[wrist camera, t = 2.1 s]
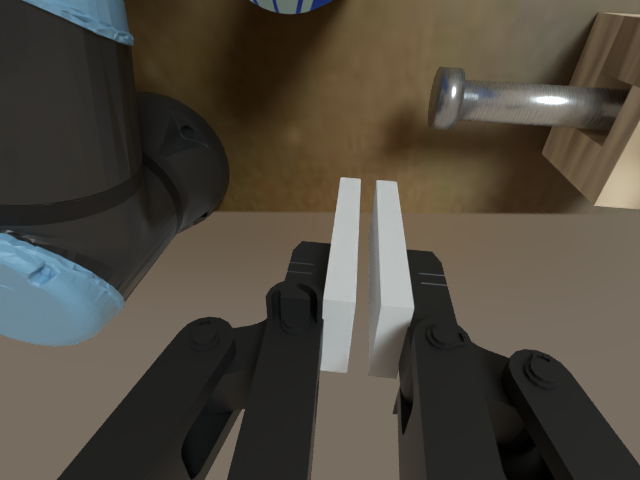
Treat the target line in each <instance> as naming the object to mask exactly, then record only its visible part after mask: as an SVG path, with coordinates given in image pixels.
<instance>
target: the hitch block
mask: <svg viewBox="0 0 640 480" xmlns="http://www.w3.org/2000/svg"><path fill="white" fill-rule="evenodd" d="M569 86H582V87H600V88H617V89H631V90H630V92H629V94H628V96H627V98H626V100H625V102H624V104H623V106H622V108H621V110H620V112H619V114H618V116H617V118H616V120H615V122H614V124H613V126H612V128H611V130H598V129H583V128H567V127H552V128H551V131H550V133H549V136H548V138H547V141H546V143H545V146H544V148H543V151H542V153H541V154H542V155H543V156H544V157H545V158H546V159H547V160H548V161H549V162H550V163H551V164H552V165H553V166H554V167H555V168H556V169H557V170H558V171H559V172H560V173H562V174H563V175H564V176H565V177H566V178H567V179H568V180H569V181H570V182H571V183H572V184H573V185H574V186H575V187H576V188H577V189H578V190H579V191H580V192H581V193H582V194H583V195H584V196H585V197H586V198H587V199H588V200H589V201H590V202H591V203H592V204H593V205H594V206H605V207H618V208H631V209H640V14H625V13H601V12H598V14H597V16H596V19H595V21H594V24H593V26H592V29H591V31H590V34H589V36H588V39H587V41H586V44H585V46H584V49H583V51H582V54H581V56H580V59H579V61H578V64H577V66H576V69H575V71H574V74H573V76H572V79H571V81H570V83H569Z"/></svg>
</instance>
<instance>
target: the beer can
mask: <svg viewBox="0 0 640 480" xmlns="http://www.w3.org/2000/svg"><path fill="white" fill-rule="evenodd" d="M250 1H251V2H253V3H254V4H256V5H258V6H260V7H262V8H264V9H267V10H269V11H273V12H277V13H282V14H299V13H304V12H308V11H311V10H314V9H316V8H318V7H320V6H323V5H325V4H327V3H329V2H331V1H333V0H250Z"/></svg>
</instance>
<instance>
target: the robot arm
mask: <svg viewBox="0 0 640 480" xmlns="http://www.w3.org/2000/svg"><path fill="white" fill-rule="evenodd" d="M131 45H133V36H132V35H131V34H130V33H129V28H128V22H127V16H126V10H125V4H124V0H0V335H3V336H6V337H9V338H12V339H16V340H20V341H24V342H27V343H32V344H38V345H46V346H68V345H74V344H77V343H80V342H82V341H84V340H87V339H90V338H92V337H93V336H95V335H96V334H97V333H99V332H100V331H101V329H103V327H104V326H105V325H106V324H107V323H108V322H109V321H110V320H111V319H112V318H113V317H114V316H115V315H116V314H117V313H118V312H120V311H121V310H122V308H123V307H124V304H125V301H126V300H127V298H128V297H129V296H130V294H131V293H132V292H133V291H134V289H135V288H136V287H137V285H138V284H139V283H140V281H141V280H142V279H143V277H144V276H145V275H146V274H147V272H148V271H149V270H150V268H151V267H152V266H153V264H154V263H155V262H156V260H157V259H158V258H159V256H160V255H161V254H162V252H163V251H164V250H165V248H166V247H167V246H168V244H169V243H170V242H171V240H172V239H173V238H174V236H175V235H176V234H178V233H180V232H182V231H184V230H186V229H188V228H190V227H192V226H193V225H196V224H198V223H199V222H201V221H203V220H205V219H206V218H207V217H208V216H210V215H211V214H212V213H213V212H214V210H215V209H216V208H217V206H218V205H219V203H220V202H221V200H222V199H223V197H224V195H225V193H226V190H227V187H228V182H229V166H228V161H227V157H226V154H225V151H224V148H223V146H222V144H221V142H220V140H219V139H218V137H217V135H216V134H215V132H214V131H213V130H212V128H211V127H210V126H209V125H208V124H207V123H206V121H205V120H204V119H203V118H201V117H200V116H199V115H198V114H197V113H196V112H194V111H193V110H192V109H190V108H189V107H187V106H186V105H184V104H182V103H181V102H179V101H177V100H174V99H172V98H170V97H167V96H163V95H159V94H154V93H135V86H134V74H133V63H132V52H131ZM360 186H361V179H355V178H342V177H341V180H340V187H339V194H338V200H337V207H336V215H335V221H334V228H333V235H332V242H331V244H328V243H327V244H326V243H317V242H306V241H302V242H301V243H300V244H299V245H298V246H297V247H296V248H295V249H294V250H293V253H292V257H291V260H290V264H289V267H288V272H287V274H286V278H285V281H283V282H280V283H278V284H276V285H275V286H274V287H272V288H271V289H270V290H269V292H268V293H267V295H266V306H267V319H266V320H264V321H262V322H260V323H258V324H254V325H250V326H245V327H239V328H232V327H231V325H230V324H229V323H228V322H227V321H225V320H223V319H221V318H216V317H206V318H200V319H197V320H195V321H193V322H191V323H189V324H187V325H186V326H185V327H184V328H183V329H182V330H181V331H180V332H179V333H178V334H177V335H176V337H175V338H174V339H173V340H172V341H171V343H170V344H169V345H168V346H167V347H166V349H165V350H164V351H163V352H162V353H161V355H160V356H159V357H158V358H157V360H156V361H155V362H154V363H153V364H152V365H151V367H150V368H149V369H148V370H147V372H146V373H145V374H144V375H143V376H142V378H141V379H140V380H139V381H138V382H137V384H136V385H135V386H134V387H133V388H132V390H131V391H130V392H129V393H128V395H127V396H126V397H125V398H124V399H123V400H122V402H121V403H120V404H119V405H118V407H117V408H116V409H115V410H114V411H113V413H112V414H111V415H110V416H109V418H108V419H107V420H106V421H105V422H104V423H103V425H102V426H101V427H100V428H99V429H98V431H97V432H96V433H95V434H94V436H93V437H92V438H91V439H90V440H89V442H88V443H87V444H86V445H85V446H84V448H83V449H82V450H81V451H80V452H79V454H78V455H77V456H76V457H75V459H74V460H73V461H72V462H71V463H70V464H69V466H68V467H67V468H66V469H65V470H64V472H63V473H62V474H61V475H60V477H59V478H58V479H57V480H204V479H205V477H206V476H207V474H208V472H209V470H210V468H211V466H212V464H213V463H214V461H215V459H216V457H217V455H218V453H219V451H220V449H221V447H222V446H223V444H224V442H225V440H226V438H227V436H228V434H229V432H230V431H231V428H232V427H233V425H234V423H235V421H236V419H237V417H238V415H239V413H240V412H241V410H242V409H245V412H244V416H243V419H242V424H241V428H240V431H239V435H238V439H237V443H236V447H235V451H234V455H233V459H232V462H231V466H230V470H229V474H228V478H227V480H311V469H312V459H313V447H314V436H315V424H316V413H317V402H318V391H319V390H318V389H319V375H320V370H324V371H333V372H341V373H347V368H348V360H349V352H350V344H351V336H352V328H353V320H354V312H355V303H356V282H357V281H356V280H357V258H358V233H359V210H360ZM368 326H369V327H368V329H369V331H368V332H369V334H368V339H369V341H368V345H369V347H368V348H369V350H368V352H369V353H368V375H369V376H376V377H385V378H394V379H396V378H397V374H398V370H399V376H400V387H399V390H398V394H397V398H396V401H395V405H394V410H393V414H397V412H398V441H399V442H398V443H399V472H400V473H399V474H400V480H640V465H639V464H638V462H637V461H636V460H635V458H634V457H633V456H632V454H631V453H630V452H629V450H628V449H627V448H626V446H625V445H624V444H623V442H622V441H621V440H620V438H619V437H618V436H617V434H616V433H615V432H614V430H613V429H612V428H611V427H610V425H609V424H608V422H607V421H606V420H605V418H604V417H603V416H602V414H601V413H600V412H599V410H598V409H597V408H596V406H595V405H594V404H593V402H592V401H591V400H590V398H589V397H588V396H587V394H586V393H585V392H584V390H583V389H582V388H581V386H580V385H579V384H578V382H577V381H576V380H575V378H574V377H573V376H572V374H571V373H570V372H569V371H568V370H567V369H566V368H565V367H564V366H563V365H562V364H561V363H560V362H559V361H557V360H556V359H554V358H553V357H551V356H550V355H547V354H545V353H542V352H539V351H537V350H527V349H524V350H520V351H516V352H515V353H514V354H513V355H512V356H511V357H510V358H507V357H505V356H502V355H499V354H496V353H494V352H491V351H488V350H486V349H484V348H481V347H479V346H477V345H476V344H474V343H472V342H471V340H470V338H469V336H468V334H467V333H466V332H465V331H464V330H463V329H462V328H461V327H460V326H459V325H458V324H457V322H456V318H455V314H454V310H453V306H452V302H451V299H450V294H449V290H448V287H447V283H446V279H445V277H444V271H443V267H442V263H441V262H440V261H439V260H438V258H437V257H436V256H435V255H434V254H433V252H429V251H417V250H406V245H405V238H404V231H403V224H402V216H401V209H400V202H399V195H398V187H397V182H394V181H381V180H376V187H375V195H374V202H373V210H372V217H371V225H370V233H369V325H368Z"/></svg>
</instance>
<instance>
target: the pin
mask: <svg viewBox="0 0 640 480" xmlns="http://www.w3.org/2000/svg"><path fill="white" fill-rule="evenodd" d="M630 90H631V89H617V88H600V87H582V86H564V85H546V84H529V83H511V82H493V81H475V80H465V72H464V69H463V68H449V67H440V68H439V69H438V70H437V73H436V75H435V78H434V81H433V85H432V90H431V95H430V101H429V109H428V125H429V128H430V129H436V130H453V128H454V127H455V125H456V123H457V121H474V122H489V123H505V124H521V125H536V126H552V127H567V128H583V129H598V130H611V128H612V126H613V124H614V122H615V120H616V118H617V116H618V114H619V112H620V110H621V108H622V106H623V104H624V102H625V100H626V98H627V96H628V94H629V92H630Z"/></svg>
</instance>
